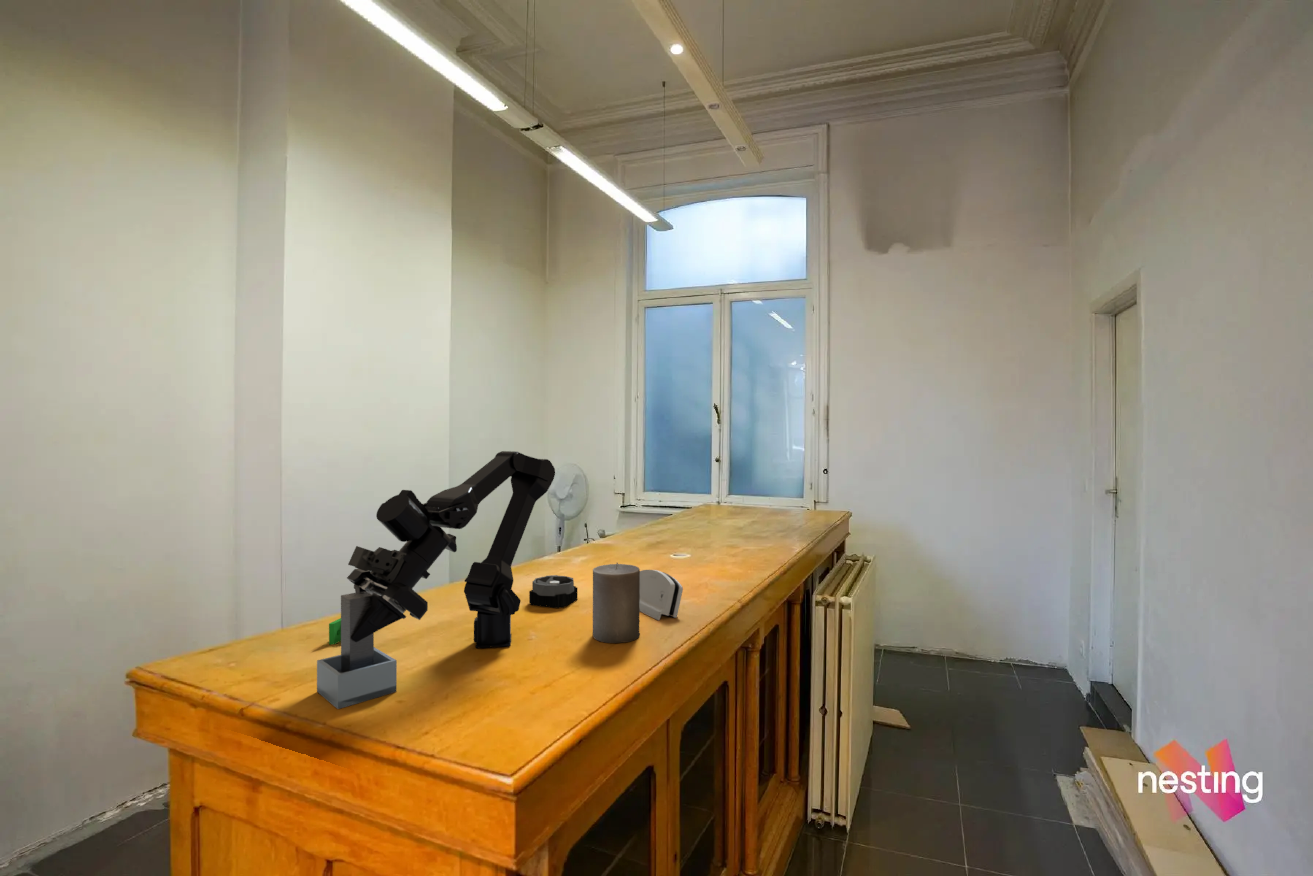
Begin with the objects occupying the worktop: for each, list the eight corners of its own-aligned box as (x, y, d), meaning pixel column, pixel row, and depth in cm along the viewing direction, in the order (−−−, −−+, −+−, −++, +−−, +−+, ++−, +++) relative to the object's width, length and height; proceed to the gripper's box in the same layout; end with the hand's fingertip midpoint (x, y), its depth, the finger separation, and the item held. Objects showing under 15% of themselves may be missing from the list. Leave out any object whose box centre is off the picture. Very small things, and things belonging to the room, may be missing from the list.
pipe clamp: (345, 646, 121) (345, 624, 121) (328, 645, 121) (328, 623, 121) (376, 628, 131) (375, 608, 131) (360, 628, 132) (360, 607, 132)
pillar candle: (649, 634, 129) (649, 561, 129) (618, 647, 121) (619, 569, 121) (612, 625, 135) (613, 555, 134) (581, 637, 127) (582, 563, 127)
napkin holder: (622, 602, 153) (634, 562, 154) (638, 606, 155) (650, 567, 157) (658, 620, 138) (671, 576, 140) (675, 624, 141) (688, 581, 142)
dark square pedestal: (367, 668, 103) (366, 589, 103) (380, 676, 100) (379, 595, 99) (334, 677, 100) (334, 595, 99) (347, 686, 96) (346, 601, 96)
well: (373, 676, 106) (373, 646, 106) (396, 691, 100) (396, 660, 100) (316, 691, 99) (317, 660, 99) (337, 709, 93) (337, 675, 93)
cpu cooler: (562, 586, 146) (524, 582, 149) (562, 610, 146) (524, 606, 149) (582, 576, 156) (545, 573, 159) (581, 599, 156) (545, 595, 159)
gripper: (359, 521, 109) (288, 597, 101) (408, 534, 96) (331, 622, 88) (404, 559, 114) (340, 634, 107) (456, 577, 102) (387, 663, 94)
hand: (348, 637), depth 99 cm, fingers closed on dark square pedestal, 4 cm apart
